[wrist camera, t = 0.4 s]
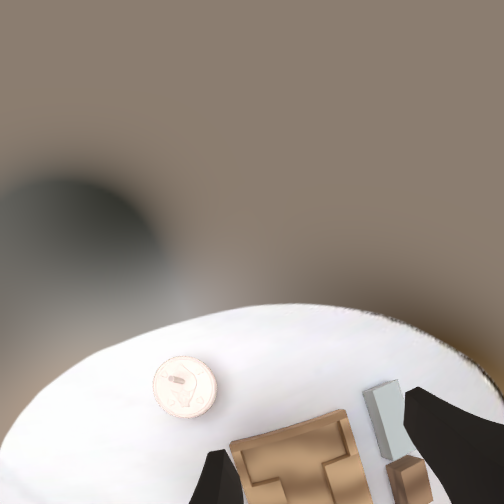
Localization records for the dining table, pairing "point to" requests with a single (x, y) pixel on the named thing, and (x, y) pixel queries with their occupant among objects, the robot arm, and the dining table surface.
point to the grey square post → (389, 419)
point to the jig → (303, 464)
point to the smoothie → (184, 387)
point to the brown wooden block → (409, 481)
